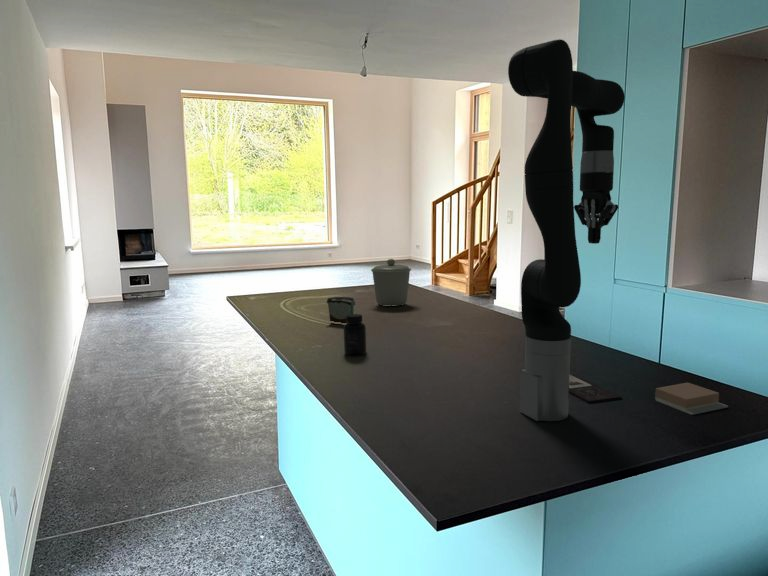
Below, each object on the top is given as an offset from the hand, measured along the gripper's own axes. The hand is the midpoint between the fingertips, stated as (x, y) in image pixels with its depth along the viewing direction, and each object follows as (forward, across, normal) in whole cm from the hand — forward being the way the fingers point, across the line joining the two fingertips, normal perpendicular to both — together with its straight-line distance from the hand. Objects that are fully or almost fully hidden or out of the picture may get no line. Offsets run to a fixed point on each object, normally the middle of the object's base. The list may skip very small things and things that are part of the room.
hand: (594, 243), depth 135 cm
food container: (+35, -93, -36) cm, 106 cm away
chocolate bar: (+36, +4, -6) cm, 36 cm away
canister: (+35, -121, -5) cm, 126 cm away
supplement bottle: (+35, -50, -46) cm, 77 cm away
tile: (+34, +17, +9) cm, 39 cm away
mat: (+35, +22, +9) cm, 42 cm away
